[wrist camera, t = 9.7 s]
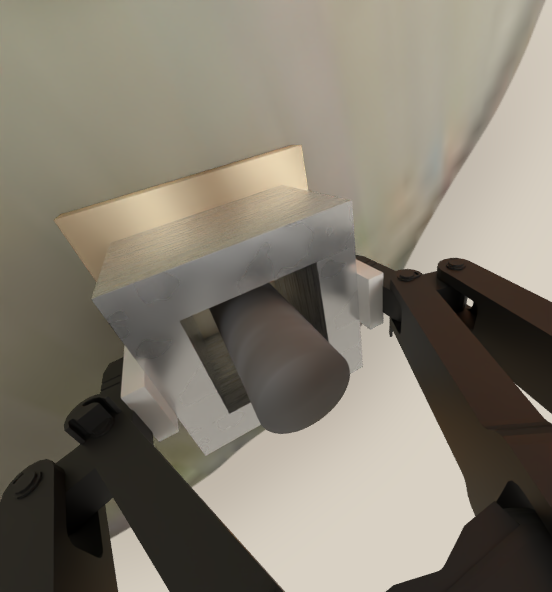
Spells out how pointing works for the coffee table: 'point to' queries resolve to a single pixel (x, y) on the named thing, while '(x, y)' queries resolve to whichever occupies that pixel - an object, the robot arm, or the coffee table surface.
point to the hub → (229, 295)
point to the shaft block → (241, 309)
